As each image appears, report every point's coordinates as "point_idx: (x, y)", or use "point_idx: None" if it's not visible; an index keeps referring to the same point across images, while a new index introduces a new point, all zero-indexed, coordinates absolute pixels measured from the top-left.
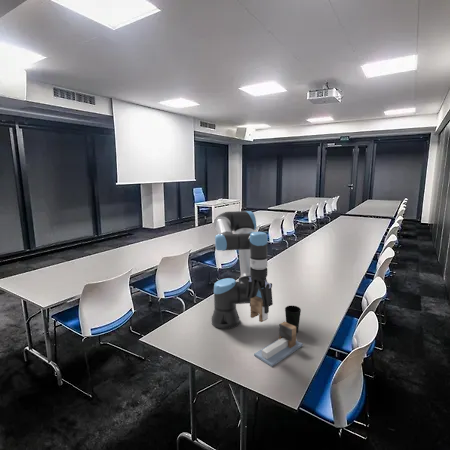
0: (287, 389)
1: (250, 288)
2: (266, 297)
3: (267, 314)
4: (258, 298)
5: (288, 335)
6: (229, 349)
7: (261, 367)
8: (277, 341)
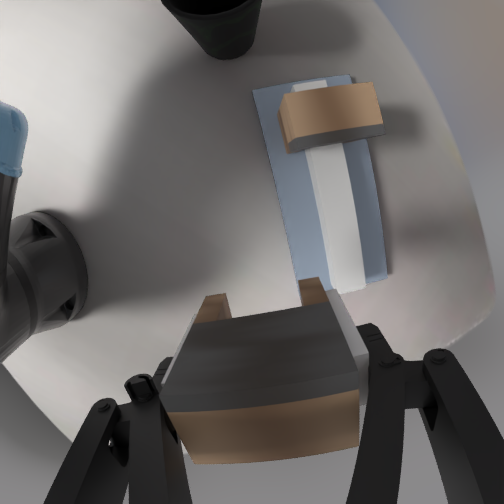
0: (466, 290)
1: (100, 498)
2: (443, 470)
3: (344, 307)
4: (241, 422)
5: (356, 139)
6: None
7: (366, 307)
8: (323, 190)
